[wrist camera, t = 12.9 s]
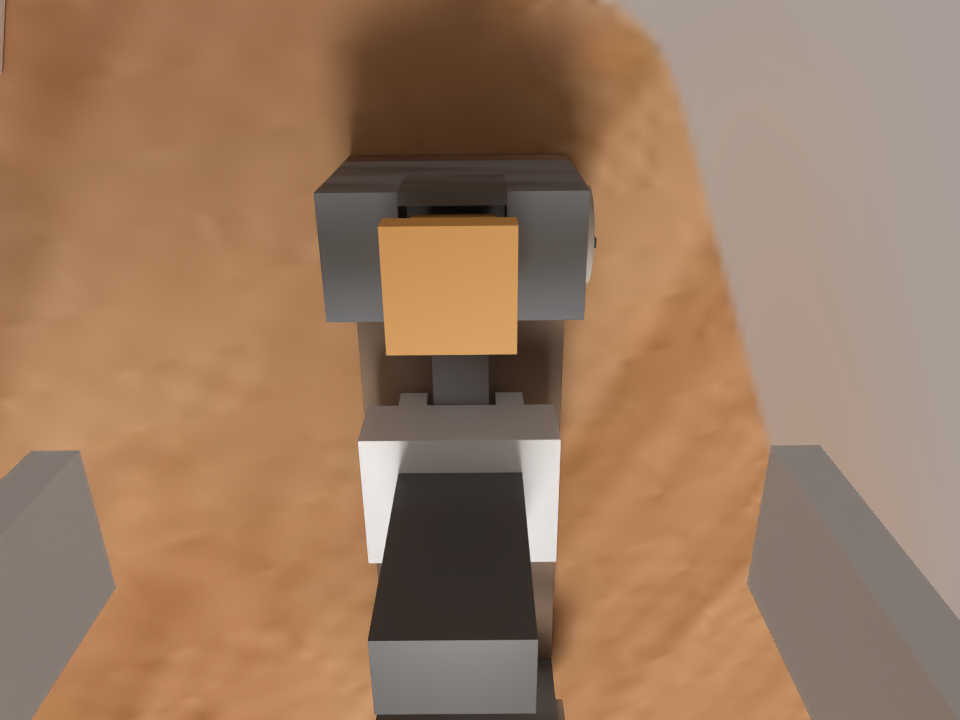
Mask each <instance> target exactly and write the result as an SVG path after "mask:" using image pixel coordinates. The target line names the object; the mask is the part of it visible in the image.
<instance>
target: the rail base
mask: <svg viewBox="0 0 960 720" xmlns="http://www.w3.org/2000/svg"><path fill="white" fill-rule="evenodd" d="M314 201H315V211H316V221H317V231H318V241H319V251H320V261H321V271H322V281H323V291H324V301H325V311H326V321H327V322H357V326H358V338H359V350H360V362H361V374H362V387H363V399H364V411H365V415H366V412H367V409H368V406H398V405H399V401H400V396H401V393H428V405H495V392H522V394H523V402H524V405H534V404H554V407H555V412H556V417H557V423H558V428H559V433H560V410H561V384H562V358H563V332H564V320H584V307H585V287H586V283H588V282H589V279H590V276H591V271H592V264H593V254H594V248H596V238H595V236H594V205H593V196H592V191H591V188H590V186H589V185H586V183H585V182H584V180H583V179H582V177H581V175H580V174H579V172H578V171H577V169H576V168H575V166H574V165H573V163H572V162H571V160H570V159H569V157H568V156H567V154H475V155H376V156H349V157H348V158H347V159H346V160H345V161H344V162H343V163H342V165H341V166H340V167H339V168H338V169H337V170H336V171H335V172H334V173H333V174H332V175H331V176H330V177H329V178H328V179H327V180H326V181H325V182H324V183H323V184H322V185H321V186H320V187H319V188H318V189H317V190H316V191H315V192H314ZM424 214H495V217H517V221H518V306H517V354H492V355H386V344H385V328H384V313H383V298H382V283H381V268H380V253H379V238H378V225H379V223H380V221H381V219H382V218H410V217H411V215H424ZM381 565H382V563H377V569H378V581H379V576H380V571H381ZM554 566H555V562H531V570H532V581H533V592H534V602H535V613H536V623H537V634H538V659H537V694H536V713H519V714H383V715H377V717H376V720H565V717H564V708H563V702H562V699H555V691H554V682H553V673H552V664H551V644H552V618H553V592H554Z"/></svg>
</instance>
